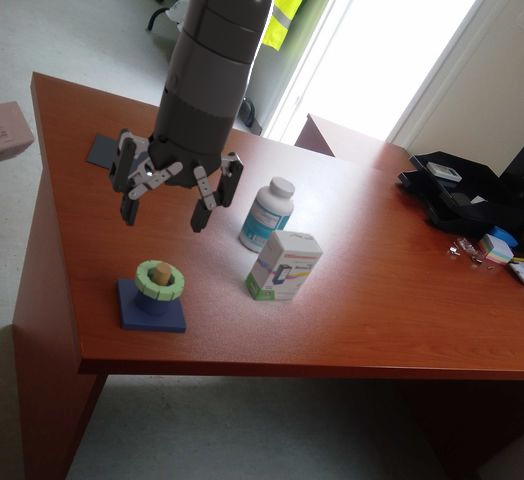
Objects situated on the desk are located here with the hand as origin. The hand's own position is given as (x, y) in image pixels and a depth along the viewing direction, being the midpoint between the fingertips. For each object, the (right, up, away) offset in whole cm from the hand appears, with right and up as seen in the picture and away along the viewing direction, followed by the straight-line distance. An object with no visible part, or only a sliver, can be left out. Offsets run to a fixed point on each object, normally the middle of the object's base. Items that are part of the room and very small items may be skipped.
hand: (162, 225), depth 56 cm
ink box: (+13, -5, +27) cm, 30 cm away
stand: (-4, -9, +11) cm, 15 cm away
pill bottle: (+11, +6, +35) cm, 37 cm away
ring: (-2, -6, +8) cm, 10 cm away
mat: (-16, +23, +35) cm, 45 cm away
